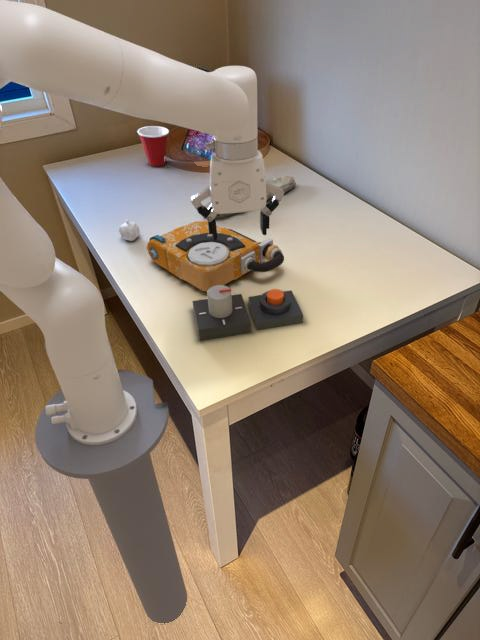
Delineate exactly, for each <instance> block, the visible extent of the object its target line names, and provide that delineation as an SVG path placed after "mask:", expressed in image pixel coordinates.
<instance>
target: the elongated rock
mask: <svg viewBox="0 0 480 640" xmlns="http://www.w3.org/2000/svg"><path fill="white" fill-rule="evenodd" d="M266 182H267V183H270V184H272V185H274V186H277V187H279V188H282V189H283V191H284V194H286V193H287V192H288V191H290V190H291V191H292V189H293V188H294V187H296V186H297V182H296V180H295V178H294V176H290V175H289V176H288V175H285V176H276V177H273V178H270V179H268V180H267V179H266ZM266 197H267V201H270V200H271V199H272V198H273V197H274V194H272V193H269V192H267V191H266ZM210 205H211V201H209V202H207V203H205V204H204V205H203V206H205V207H206V208H207V209H208V208H209V206H210ZM240 213H243V212H240ZM240 213H239V214H240ZM231 215H235V213H229V214H217V216H216V217H215V219H217V218H222V217H228V216H231Z"/></svg>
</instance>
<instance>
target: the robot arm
mask: <svg viewBox="0 0 480 640" xmlns="http://www.w3.org/2000/svg"><path fill="white" fill-rule="evenodd" d="M11 82H12V83H15V84H19V85H21V86H24V87H27V88H29V89H33V90H35V91H39V92H43V93H46V94H49V95H54V96H58V97H61V98H65V99H68V100H73V101H76V102H80V103H84V104H87V105H91V106H95V107H98V108H102V109H105V110H108V111H113V112H116V113H121V114H124V115H128V116H130V117H134V118H138V119H144V120H150V121H156V122H160V123H166V124H169V125H174V126H177V127H181V128H185V129H188V130H192V131H195V132H199V133H202V134H207V135H210V136H212V139H211V140H210V141H209V142H205V151H206V152H207V151H210V152H212V154H211V156H210V161H209V162H210V163H209V186H207V187H206V188H204V189H202V190H200V191H198V192H197V193H195V194H194V195H192V196H191V197H190V202H191V204H192V205H193V207H194V208H195V210H196V211H197V213H198V214H199V215H200V216H202V217H203V218H204V219H206V221H208V228H209V234H213V239H214V240H216V239H217V228H216V225H217V220H216V219H217V218H215V217H216V216H217V214H229V213H234V214H240V212H242V213H248V212H249V213H250V212H258V211H260V212H259V213H260V214H259V225H260V226H259V229H260V231H261V234H262V235H263V236H267V231H268V230H269V229H270V216H272V213H273V212H274V211H275V209H277V208H278V207H279V205H280V203H281V201H282V199H283V197H284V195H285V193H284V191H283V189H282V188H279V187H277V186H274V185H272V184H270V183H267V182H266V181H267V179H266V169H265V161H264V156H263V153H262V152H261V151H260V150H259V149H258V147H259V145H258V144H259V142H258V141H259V140H258V133H259V132H258V77H257V74H256V71H255V70H253V69H252V68H250V67H249V66H244V65H226V66H222V67H219V68H216V69H214V70H213V71H205V70H202V69H199V68H198V67H195V66H192V65H189V64H186V63H184V62H181V61H178V60H176V59H174V58H173V59H172V58H170V57H168V56H166V55H163V54H161V53H158V52H157V51H154V50H152V49H149V48H146V47H145V46H144V47H143V46H141V45H138V44H136V43H133V42H132V41H131V42H130V41H128V40H125V39H123V38H120V37H117V36H116V35H113V34H111V33H108V32H105V31H103V30H100V29H98V28H96V27H93V26H91V25H88V24H86V23H84V22H81V21H79V20H77V19H75V18H72V17H70V16H66V15H64V14H62V13H59V12H57V11H54V10H52V9H49V8H48V7H45V6H41V5H37V4H33V3H29V2H22V1H21V2H20V1H14V0H13V1H12V0H0V90H1V89H2V88H3V87H5V86H6V85H8V84H9V83H11ZM2 125H3V109H2V104H1V103H0V130H1V129H2ZM266 191H267V192H269V193H272V194H274V197H271V198H270V199H269V200H267V197H266ZM209 197H210V202H211V205H210V206H209V208H208V209H207V208H206V207H205V206H204V205H203V203H202V202H203V201H204V200H206V199H207V198H209ZM267 201H268V202H267ZM0 292H1V293H2V294H3V295H4V296H6V298H8V299H9V301H10V302H12V303H13V304H14V305H15V306H17V307H18V308H19V309H20V310H21V311H22V312H23V313H24V314H25V315H26V316H27V317H28V318H30V319H31V320H32V321H33V322H34V323H35V324H36V325H37V326H38V328H39V329H40V331H41V332H42V335H43V338H44V347H45V352H46V355H47V358H48V360H49V363H50V365H51V368H52V370H53V371H54V374H55V377H56V380H57V382H58V384H59V387H60V390H61V389H62V392H63V394H64V397H65V399H66V401H64V403H62V404H53V405H47V406H46V405H45V406H46V407H45V406H44V407H45V411H46V415H47V416H51V415H57V414H60V413H65V415H62V416H54V417H52V418H51V421H52V424H59V423H63V422H66V426H67V429H68V432H69V433H70V435H71V437H72V438H73V439H74V440H76V441H78V442H79V443H82V444H85V445H102V444H107V443H110V442H112V441H114V440H116V439H118V438H120V437H121V436H123V435H124V434H125V433H126V432H127V431H128V430H129V429H130V428H131V427H132V425H133V424H134V422H135V420H136V416H137V406H136V403H135V400H134V398H133V397H132V396H131V395H130V394H129V393H128V392H126V391H124V390H123V388H122V385H121V381H120V378H119V374H118V371H117V370H118V368H117V364H116V361H115V357H114V354H113V350H112V346H111V344H110V339H109V336H108V333H107V328H106V327H107V325H106V316H105V313H106V312H105V303H104V299H103V297H102V294H101V292H100V291H99V289H98V288H97V287H96V285H95V284H94V283H93V282H92V281H91V280H90V279H88V278H87V277H86V276H84V275H83V274H82V273H80V272H79V271H77V270H76V269H75V268H73V267H71V266H70V265H68V264H66V263H65V262H63V261H62V260H61V259H59V258H58V257H57V256H56V251H55V248H54V244H53V242H52V240H51V238H50V235H48V233H47V231H46V230H45V229H44V228H43V227H42V226H41V225H40V224H39V223H38V222H37V220H35V218H33V217H32V215H31V214H30V213H29V212H28V211H27V210H26V208H25V207H24V206H23V205H22V204H21V203H20V201H19V200H18V199H17V197H16V196H15V195H14V194H13V193H12V191H11V190H10V189H9V187H8V186H7V184H6V183H5V181H4V180H3V179H2V177H1V176H0Z"/></svg>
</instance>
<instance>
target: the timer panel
mask: <svg viewBox="0 0 480 640" xmlns="http://www.w3.org/2000/svg"><path fill="white" fill-rule="evenodd" d="M231 295H232V313H231V314H230V315H229V316H227V317H225V318H215V317H213V316H211V315H210V313H209V306H208V298H204V299H203V298H202V299H197V300H192V308H193V309H192V311H193V315H194V319H195V320H194V321H195V325H196V329H197V334H198V340H199V341H206V340H214V339H219V338H226V337H231V336H237V335H244V334H249V333H252V321H251V318H250V315H249V312H248V309H247V307H246V304H245V301H244V297H243V295H242V293H235V294H231Z"/></svg>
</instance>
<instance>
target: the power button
mask: <svg viewBox="0 0 480 640" xmlns="http://www.w3.org/2000/svg"><path fill="white" fill-rule="evenodd" d="M267 291H268V292H267ZM267 291H266V292H267V302H268V303H269V304H271V305H280V304H282V303H283V301H284V293H283V292H282V291H283V290H281V289H279V288H278V289H277V288H273V289H269V290H267Z"/></svg>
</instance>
